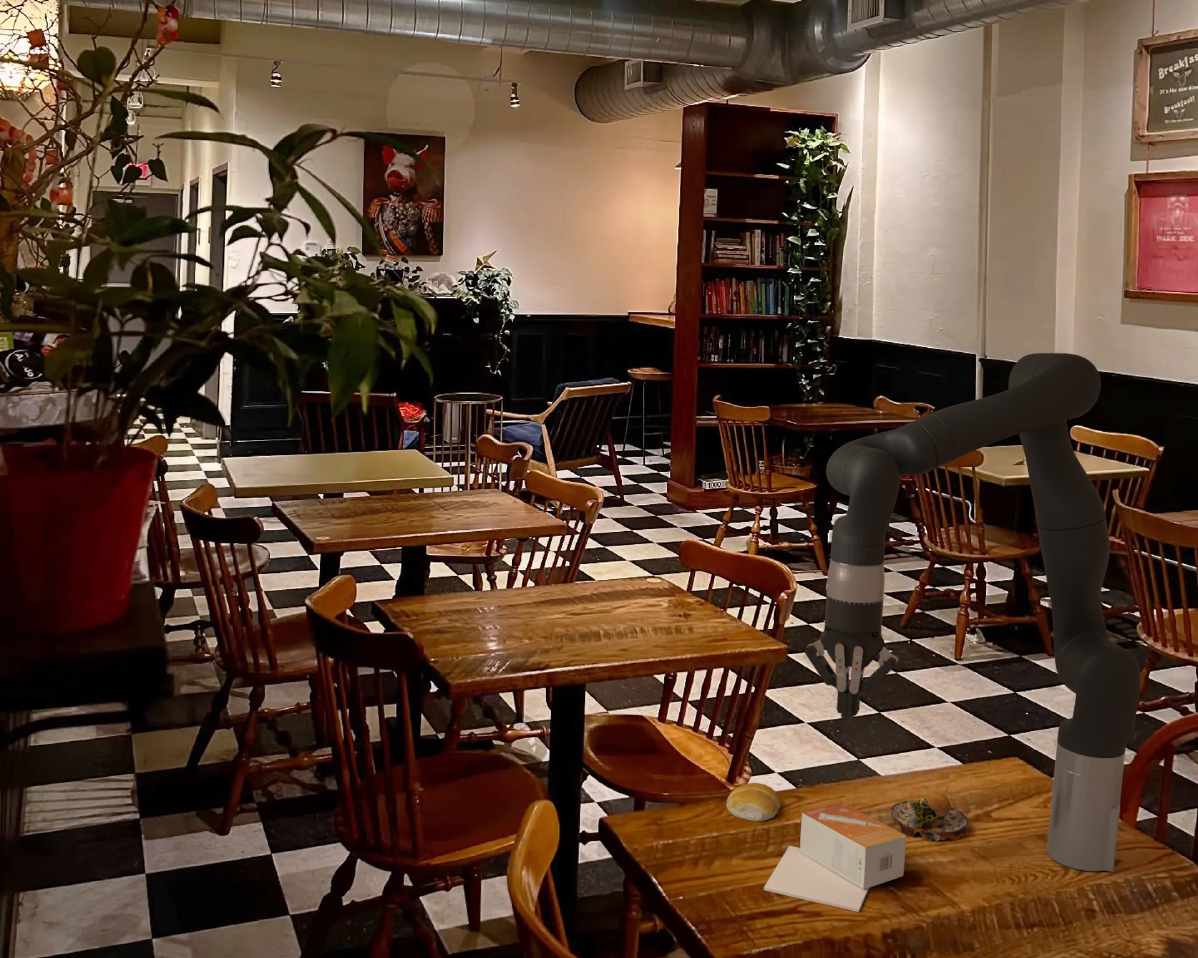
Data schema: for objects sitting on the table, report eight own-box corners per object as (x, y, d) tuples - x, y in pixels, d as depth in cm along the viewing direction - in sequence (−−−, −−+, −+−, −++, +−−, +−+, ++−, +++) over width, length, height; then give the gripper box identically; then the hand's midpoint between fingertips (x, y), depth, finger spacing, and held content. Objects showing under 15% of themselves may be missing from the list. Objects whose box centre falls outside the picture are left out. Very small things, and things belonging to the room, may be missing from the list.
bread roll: (783, 803, 192) (785, 780, 192) (773, 826, 184) (774, 801, 183) (733, 795, 195) (734, 771, 194) (720, 816, 186) (722, 792, 186)
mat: (877, 867, 171) (878, 864, 171) (858, 911, 158) (858, 909, 158) (789, 848, 176) (789, 845, 176) (763, 889, 163) (763, 887, 163)
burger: (928, 805, 194) (931, 761, 193) (984, 834, 184) (988, 788, 183) (872, 818, 188) (876, 773, 187) (928, 849, 178) (932, 802, 177)
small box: (866, 847, 162) (800, 811, 173) (863, 890, 163) (798, 852, 174) (907, 834, 167) (841, 800, 177) (904, 876, 168) (838, 840, 178)
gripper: (909, 593, 161) (901, 716, 164) (812, 581, 166) (806, 701, 169) (900, 606, 154) (891, 734, 157) (799, 593, 159) (793, 717, 162)
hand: (847, 716), depth 163 cm, fingers closed
